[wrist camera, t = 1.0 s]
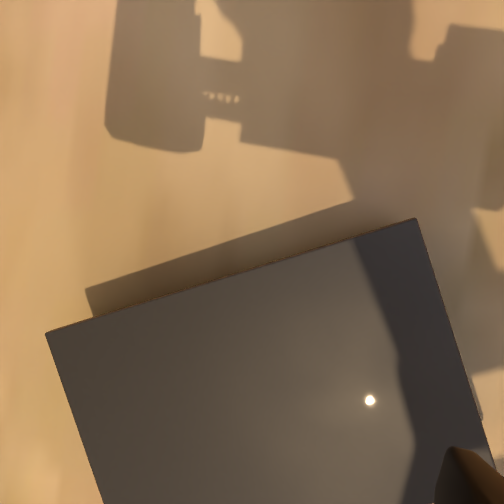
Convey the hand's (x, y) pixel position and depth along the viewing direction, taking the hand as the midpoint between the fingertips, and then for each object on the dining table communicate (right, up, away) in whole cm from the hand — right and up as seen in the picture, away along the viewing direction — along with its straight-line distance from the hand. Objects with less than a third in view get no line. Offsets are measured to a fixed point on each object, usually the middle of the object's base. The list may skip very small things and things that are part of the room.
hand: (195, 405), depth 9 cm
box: (+2, -3, +14) cm, 14 cm away
